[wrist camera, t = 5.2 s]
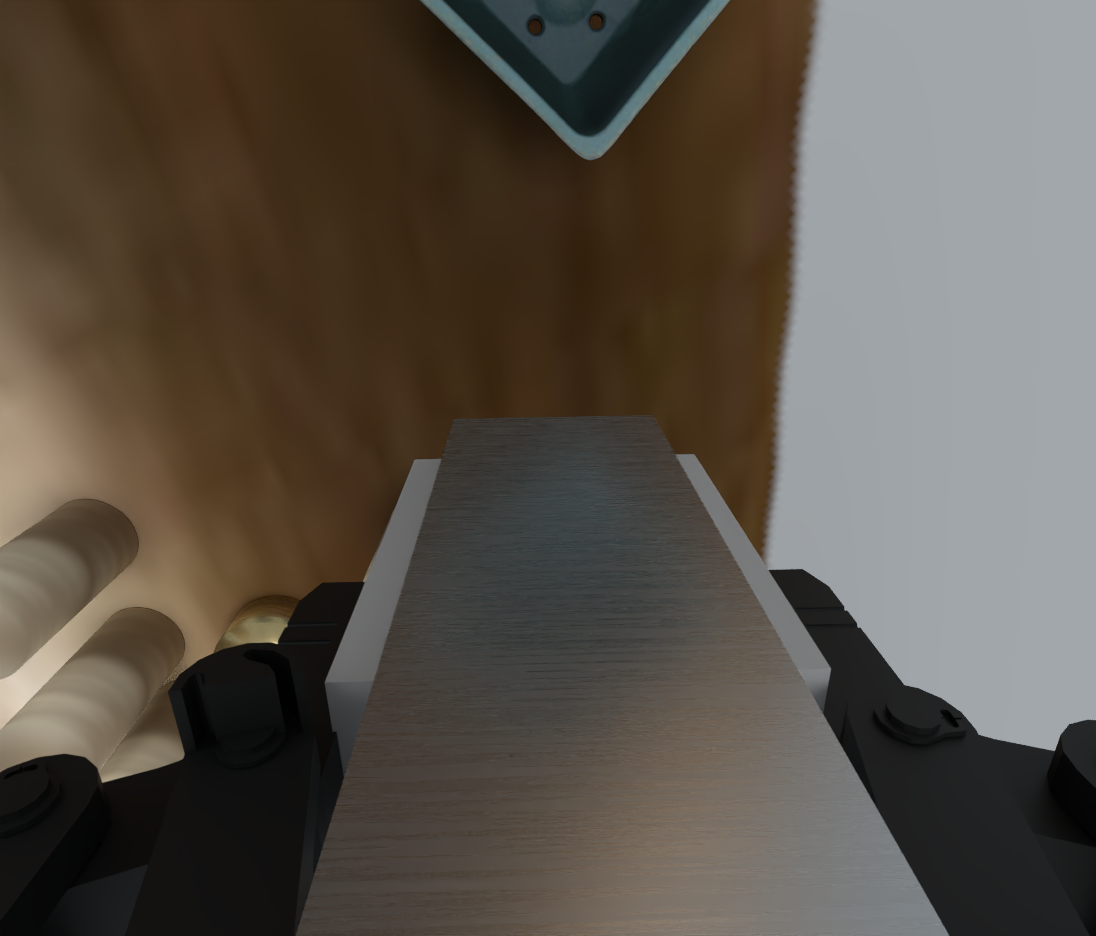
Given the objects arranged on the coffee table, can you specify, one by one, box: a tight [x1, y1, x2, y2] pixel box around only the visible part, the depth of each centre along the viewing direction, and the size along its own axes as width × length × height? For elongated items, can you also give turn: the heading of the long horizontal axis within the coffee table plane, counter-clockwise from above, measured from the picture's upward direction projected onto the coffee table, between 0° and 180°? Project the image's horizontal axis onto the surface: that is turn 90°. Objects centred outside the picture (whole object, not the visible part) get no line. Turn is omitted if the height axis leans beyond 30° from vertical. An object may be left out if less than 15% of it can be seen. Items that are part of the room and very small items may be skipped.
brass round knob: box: [214, 595, 300, 653], centre depth 34 cm, size 5×5×3 cm
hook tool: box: [296, 415, 949, 936], centre depth 11 cm, size 13×4×12 cm, turn 0°
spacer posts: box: [0, 499, 395, 783], centre depth 31 cm, size 14×20×8 cm
